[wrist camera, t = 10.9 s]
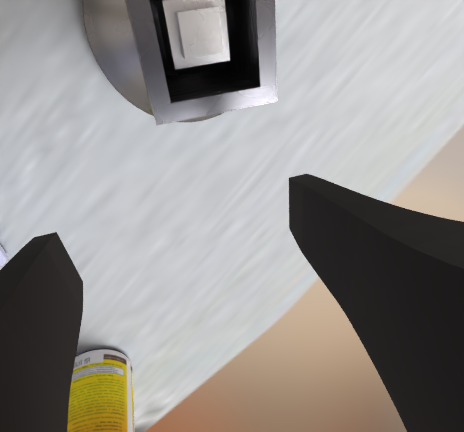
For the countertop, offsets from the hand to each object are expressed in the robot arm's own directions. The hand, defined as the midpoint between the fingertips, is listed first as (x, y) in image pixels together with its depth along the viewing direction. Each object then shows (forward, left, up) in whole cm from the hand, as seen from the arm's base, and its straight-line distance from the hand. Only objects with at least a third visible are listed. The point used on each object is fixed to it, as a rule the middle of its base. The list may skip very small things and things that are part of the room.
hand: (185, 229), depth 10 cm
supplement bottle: (-10, -19, -11) cm, 24 cm away
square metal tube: (+2, +4, -9) cm, 11 cm away
